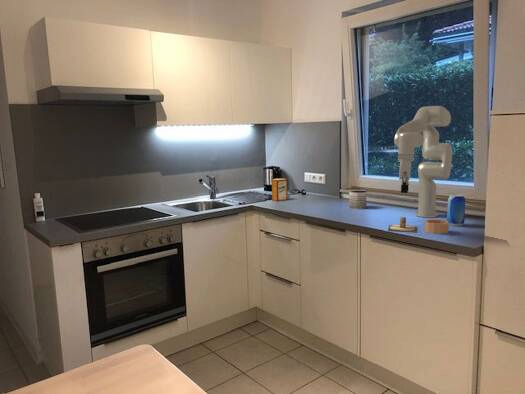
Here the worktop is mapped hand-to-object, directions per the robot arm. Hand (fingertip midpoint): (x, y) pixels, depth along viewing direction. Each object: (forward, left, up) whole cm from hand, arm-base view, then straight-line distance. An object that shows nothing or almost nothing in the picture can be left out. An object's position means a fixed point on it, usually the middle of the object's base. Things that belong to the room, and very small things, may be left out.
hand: (404, 191), depth 218 cm
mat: (0, 0, -20) cm, 20 cm away
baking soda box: (-74, -89, -20) cm, 118 cm away
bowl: (+1, +16, -20) cm, 25 cm away
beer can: (-18, +26, -20) cm, 37 cm away
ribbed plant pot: (-57, -30, -20) cm, 67 cm away
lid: (0, 0, -19) cm, 19 cm away
